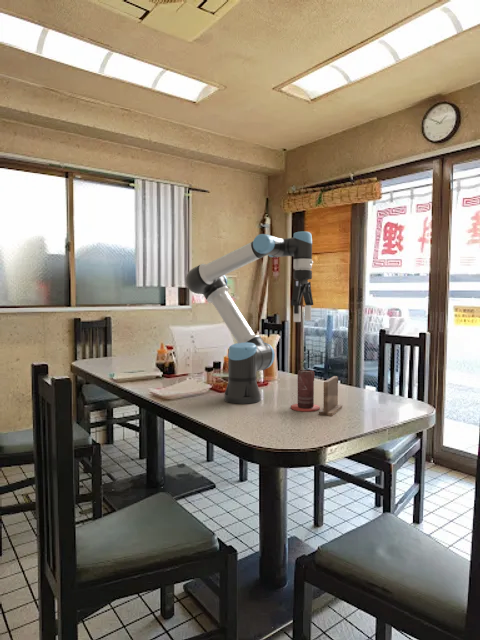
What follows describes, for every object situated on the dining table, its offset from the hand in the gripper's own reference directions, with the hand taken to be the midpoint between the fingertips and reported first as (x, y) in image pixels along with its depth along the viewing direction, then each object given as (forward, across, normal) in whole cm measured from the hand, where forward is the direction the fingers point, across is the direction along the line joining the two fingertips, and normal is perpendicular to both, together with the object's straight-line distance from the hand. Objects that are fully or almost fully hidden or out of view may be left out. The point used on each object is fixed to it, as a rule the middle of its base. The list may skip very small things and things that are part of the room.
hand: (302, 321), depth 185 cm
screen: (+33, -14, -16) cm, 39 cm away
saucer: (+33, -14, -6) cm, 36 cm away
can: (+32, -14, -6) cm, 36 cm away
